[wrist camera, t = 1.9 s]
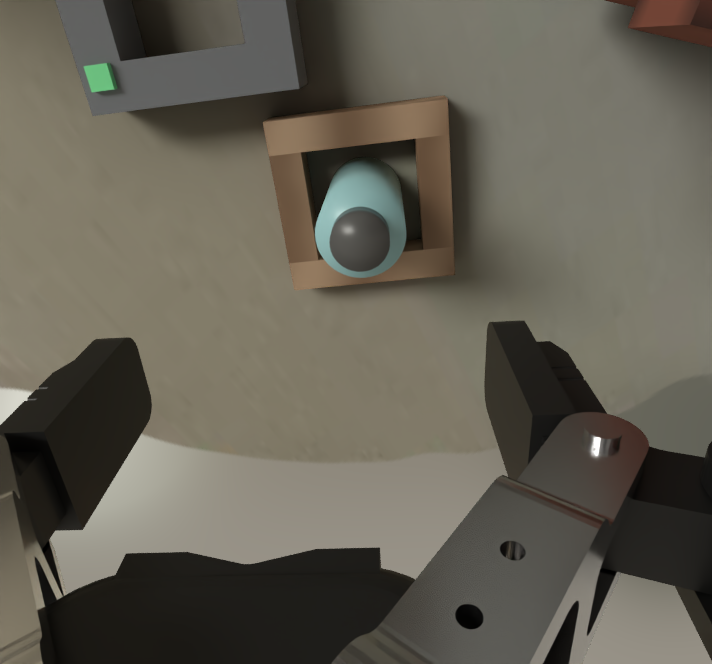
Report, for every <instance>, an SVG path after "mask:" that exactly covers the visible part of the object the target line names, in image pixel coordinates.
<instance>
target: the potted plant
mask: <svg viewBox="0 0 712 664" xmlns="http://www.w3.org/2000/svg"><path fill="white" fill-rule="evenodd" d="M606 1H610V2H614V3H618V4H623V5H627V6H631V7H635V10H634V13H633V15H632V18H631V21H630V23H629V26H628V28H630V29H635V30H639V31H643V32H648V33H652V34H656V35H661V36H665V37H669V38H674V39H678V40H682V41H687V42H691V43H695V44H700V45H704V46H708V47H712V0H606Z"/></svg>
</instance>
